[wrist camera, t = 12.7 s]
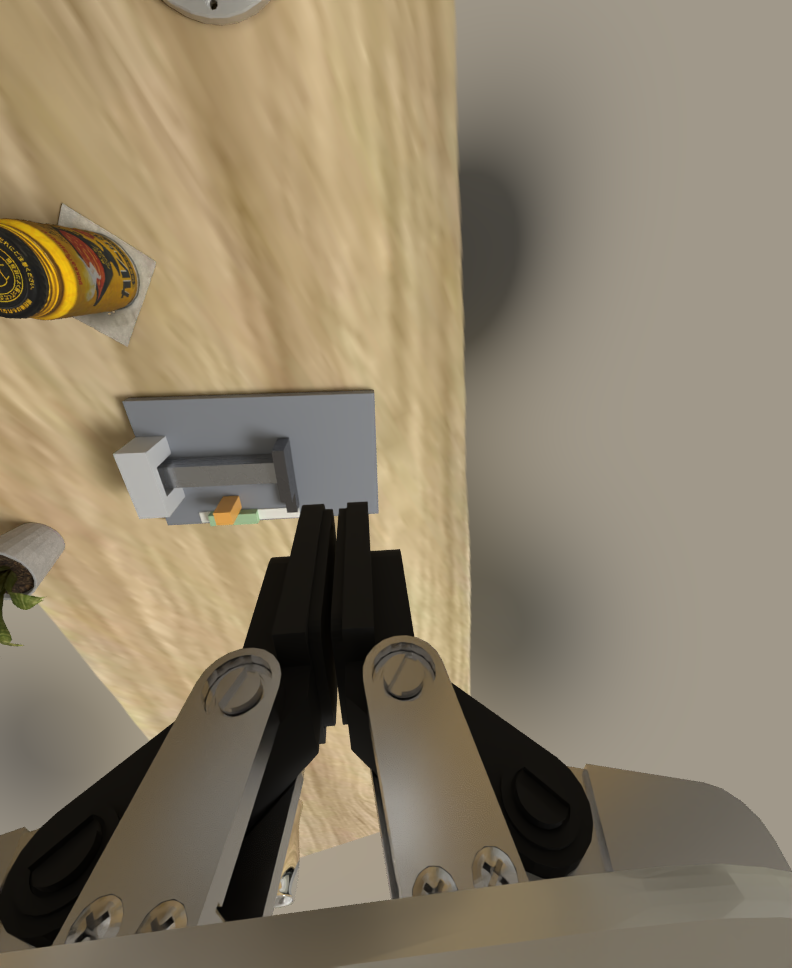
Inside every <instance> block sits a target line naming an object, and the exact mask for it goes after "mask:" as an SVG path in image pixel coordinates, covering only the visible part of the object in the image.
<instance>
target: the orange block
mask: <svg viewBox="0 0 792 968" xmlns="http://www.w3.org/2000/svg"><path fill="white" fill-rule="evenodd" d="M241 508H242V506H241V502H240V498H239V496H223V497H222V499H221V501H220V502H219V504H218V506H217V507H216V509H215V511H214V512H213V515H214V519H215V522H216V526H217V525H233V524H234V522H235V520H236V518H237V516H238V514H239V512H240V510H241Z"/></svg>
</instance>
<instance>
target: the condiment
mask: <svg viewBox="0 0 792 968" xmlns="http://www.w3.org/2000/svg"><path fill="white" fill-rule="evenodd" d="M155 265H156V261H154V260H153V259H151V258H149V257H148V256H146V255H145V254H143V253H142V252H140V251H138V250H137V249H135V248H134V247H132V246H130V245H129V244H127V243H126V242H124V241H123V240H121V239H119V238H118V237H116V236H115V235H113V234H111V233H110V232H108V231H106V230H105V229H103V228H102V227H100V226H98V225H97V224H95V223H94V222H92V221H90V220H89V219H87V218H85V217H83V216H82V215H80V214H79V213H77V212H76V211H74V210H72V209H71V208H69V207H68V206H66V205H64V204H63V203H62V207H61V212H60V216H59V221H58V225H57V226H55V225H50V224H41V223H35V222H32V221H26V220H19V219H7V218H3V219H0V316H1V317H5V318H20V319H21V318H34V319H40V320H54V319H62V318H68V317H73V318H75V319H77V320H79V321H81V322H83V323H85V324H86V325H88V326H90V327H93V328H95V329H96V330H98V331H99V332H101V333H103V334H105V335H107V336H109V337H111V338H113V339H114V340H116V341H118V342H120V343H121V344H123V345H125V346H127V347H128V344H129V340H130V338H131V335H132V332H133V328H134V326H135V323H136V320H137V317H138V315H139V312H140V309H141V307H142V304H143V301H144V298H145V295H146V292H147V289H148V286H149V284H150V281H151V277H152V275H153V272H154V268H155ZM112 311H115V313H112ZM108 313H111V315H108Z"/></svg>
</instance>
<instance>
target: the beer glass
mask: <svg viewBox="0 0 792 968" xmlns="http://www.w3.org/2000/svg"><path fill="white" fill-rule="evenodd" d="M302 808H303V802H302V801H301V800H300V799H299V802H298V806H297V810H296V815H295V819H294V823H293V828H292V832H291V836H290V841H289V845H288V849H287V854H286V858H285V862H284V866H283V871H282V875H281V879H280V884H279V888H278V892H277V897H276V901H275V905H274V908H281V907H285V906H289V905H291V904H293V903H294V901H295V894H296V888H297V881H298V873H299V862H300V849H299V822H300V816H301V812H302Z"/></svg>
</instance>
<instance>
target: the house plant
mask: <svg viewBox="0 0 792 968" xmlns="http://www.w3.org/2000/svg"><path fill="white" fill-rule="evenodd" d="M64 548H65V543H64V540H63V538H62V537H61V535H60V534H59V533H58V532H57V531H55V530H54V529H52V528H51V527H48V526H46V525H43V524H39V523H25V524H23V525H20V526H18V527H16V528H14V529H12V530H11V531H9V532H7V533H5V534H3V535H1V536H0V643H1V644H4V645H9V646H22V645H19V644H12V643H10V642H11V640H12V639H11V635H10V633H9V631H8V629H7V627H6V625H5V623H4V620H3V617H2V606H3V600H12V601H13V604H14V605H16V606H17V607H19V608H20V609H23V610H27V609H30V608H32V607H33V606H35V605H36V604H38V603H39V602H41V601H43V600H40V599H42V598H44V597H42V598H40V597H35V596H30V595H31V594H32V593H34V592H35V590H36V589H37V587H38V586H39V584H40V583H41V582H42V580H43V579H44V577H45V576H46V575H47V573H48V572H49V570H50V569H51V568H52V566H53V565H54V563H55V562H56V561H57V559H58V558H59V556H60V555H61V553H62V552H63V550H64ZM46 597H47V596H46Z"/></svg>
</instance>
